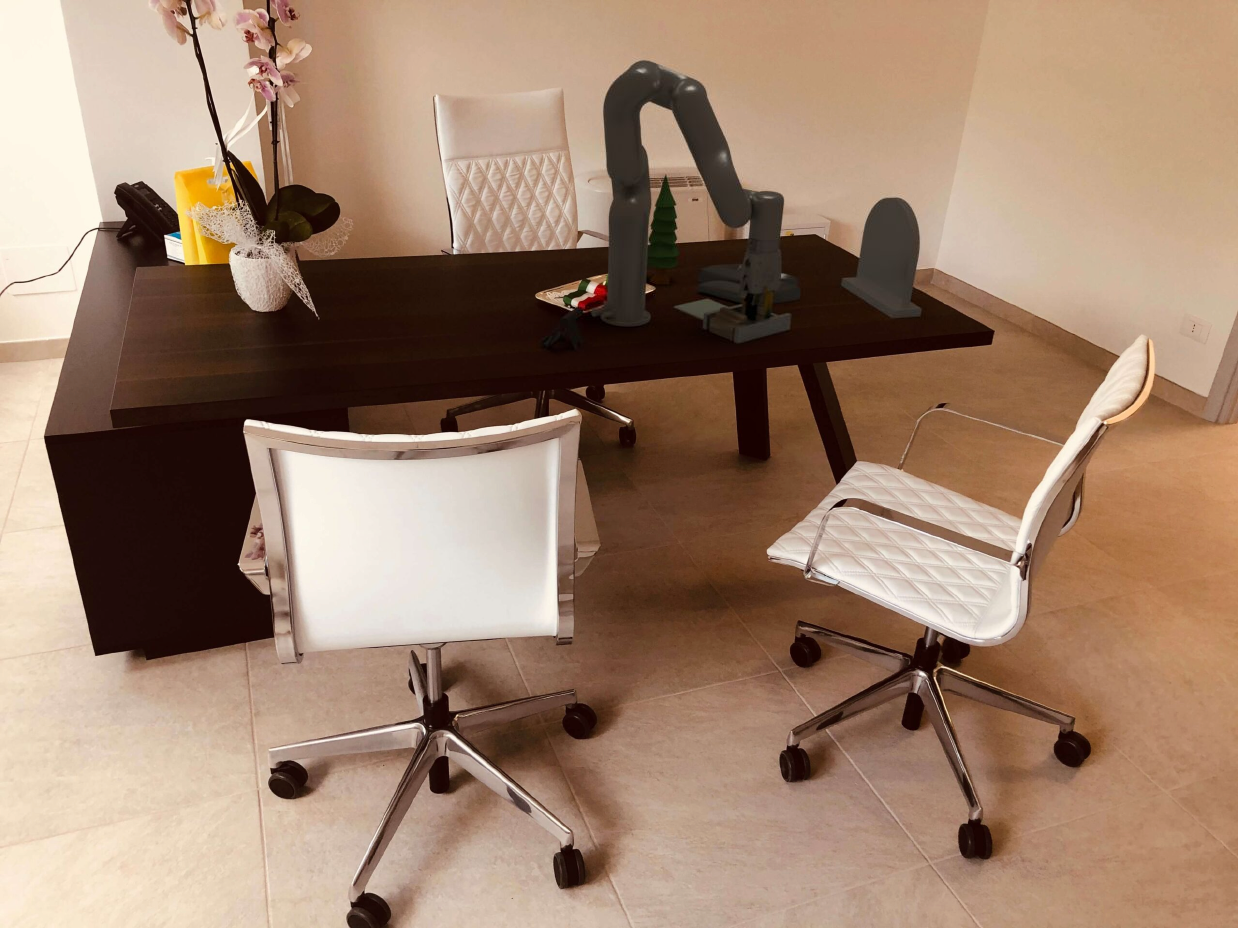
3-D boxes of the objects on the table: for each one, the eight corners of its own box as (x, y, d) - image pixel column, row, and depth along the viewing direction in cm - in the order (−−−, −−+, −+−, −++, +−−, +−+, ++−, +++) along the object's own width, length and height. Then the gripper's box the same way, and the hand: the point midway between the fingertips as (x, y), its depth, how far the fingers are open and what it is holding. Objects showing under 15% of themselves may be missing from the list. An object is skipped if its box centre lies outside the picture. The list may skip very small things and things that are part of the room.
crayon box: (770, 329, 241) (775, 284, 236) (762, 332, 239) (767, 287, 234) (747, 321, 246) (751, 277, 240) (739, 324, 244) (744, 279, 238)
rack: (737, 343, 231) (738, 328, 230) (702, 328, 240) (703, 313, 238) (789, 329, 241) (791, 314, 239) (754, 315, 250) (755, 300, 248)
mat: (704, 321, 245) (704, 319, 245) (673, 307, 253) (673, 306, 253) (738, 312, 251) (738, 311, 251) (707, 300, 260) (707, 298, 260)
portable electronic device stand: (557, 336, 232) (557, 303, 228) (587, 341, 230) (588, 307, 226) (541, 348, 225) (541, 314, 221) (572, 353, 222) (572, 319, 218)
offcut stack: (731, 341, 233) (733, 319, 231) (709, 331, 239) (711, 310, 236) (745, 337, 236) (747, 316, 233) (722, 328, 241) (724, 307, 239)
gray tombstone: (921, 316, 254) (942, 211, 241) (892, 318, 252) (911, 212, 239) (868, 284, 278) (884, 186, 265) (841, 286, 275) (855, 187, 262)
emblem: (696, 285, 254) (699, 256, 279) (695, 305, 257) (698, 274, 281) (804, 292, 252) (797, 262, 277) (801, 312, 255) (795, 280, 279)
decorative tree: (648, 286, 268) (654, 176, 254) (638, 276, 276) (643, 169, 262) (681, 285, 271) (688, 175, 257) (671, 275, 279) (677, 168, 265)
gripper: (750, 253, 225) (742, 328, 234) (798, 243, 234) (789, 316, 243) (727, 245, 231) (721, 319, 239) (776, 236, 240) (768, 307, 248)
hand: (755, 316), depth 241 cm, fingers closed on crayon box, 3 cm apart
